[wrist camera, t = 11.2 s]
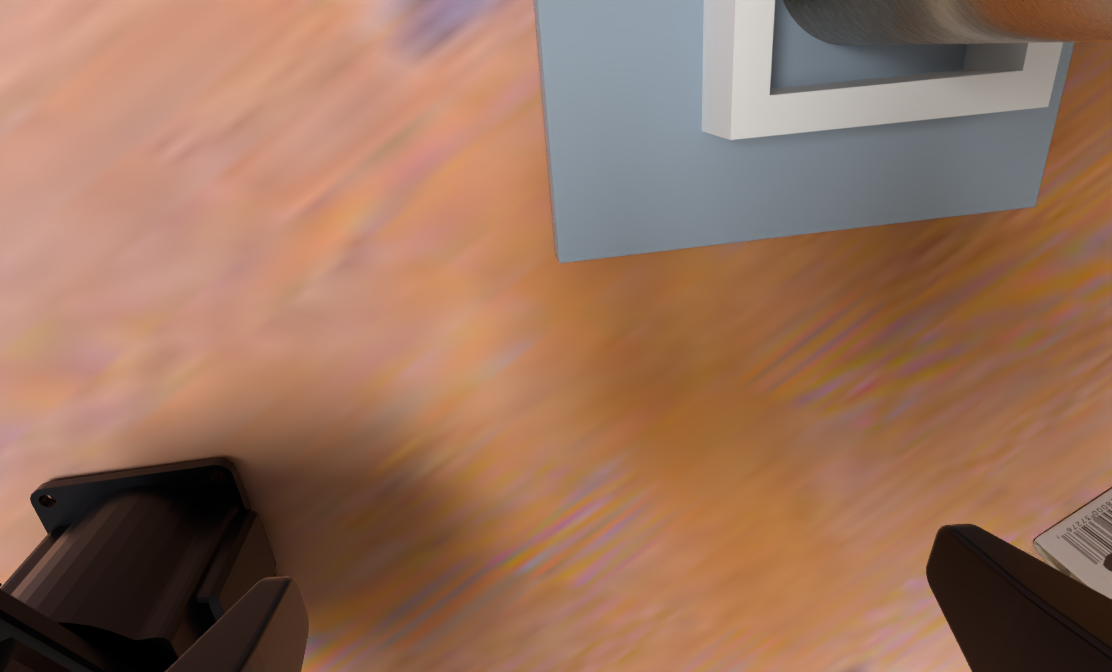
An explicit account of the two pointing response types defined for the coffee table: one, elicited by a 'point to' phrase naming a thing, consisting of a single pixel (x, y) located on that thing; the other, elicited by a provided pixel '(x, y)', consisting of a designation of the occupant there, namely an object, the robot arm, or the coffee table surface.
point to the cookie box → (1083, 545)
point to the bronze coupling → (953, 21)
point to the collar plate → (774, 126)
